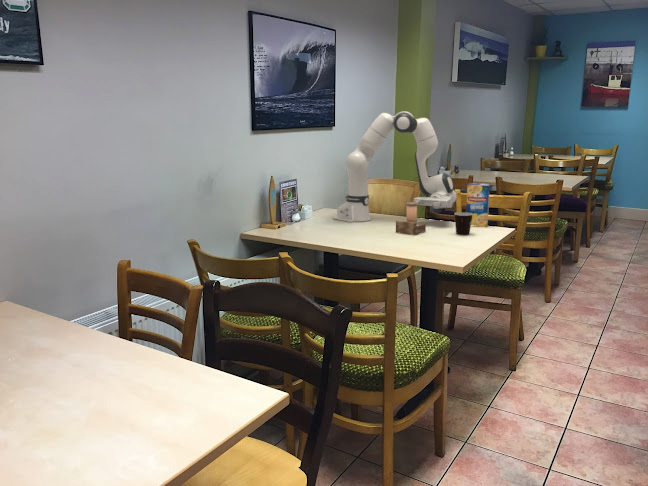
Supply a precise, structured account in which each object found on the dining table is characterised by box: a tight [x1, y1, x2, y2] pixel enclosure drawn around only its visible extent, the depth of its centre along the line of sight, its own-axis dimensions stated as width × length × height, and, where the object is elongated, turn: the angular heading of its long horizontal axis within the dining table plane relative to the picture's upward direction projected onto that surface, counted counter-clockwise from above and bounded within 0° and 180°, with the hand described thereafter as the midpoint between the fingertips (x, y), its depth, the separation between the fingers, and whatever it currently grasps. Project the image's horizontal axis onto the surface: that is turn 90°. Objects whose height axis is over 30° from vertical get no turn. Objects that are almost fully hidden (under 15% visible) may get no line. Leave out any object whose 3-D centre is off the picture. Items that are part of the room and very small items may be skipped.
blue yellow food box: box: [465, 182, 491, 228], centre depth 286 cm, size 7×11×22 cm, turn 70°
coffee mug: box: [454, 212, 473, 236], centre depth 267 cm, size 12×9×10 cm
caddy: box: [395, 220, 427, 236], centre depth 274 cm, size 11×10×6 cm
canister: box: [405, 201, 418, 224], centre depth 274 cm, size 6×6×15 cm
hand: (425, 204), depth 282 cm, fingers open, 8 cm apart
